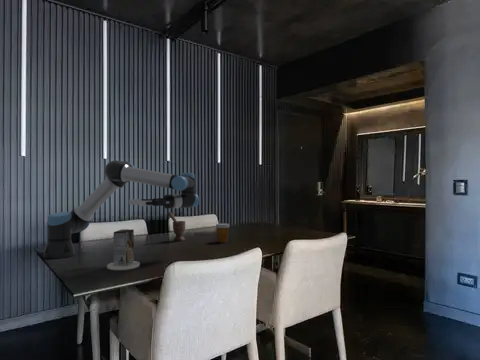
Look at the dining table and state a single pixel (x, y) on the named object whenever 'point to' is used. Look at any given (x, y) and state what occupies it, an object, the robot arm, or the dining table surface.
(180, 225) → the mortar and pestle
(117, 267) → the plate
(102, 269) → the dining table surface
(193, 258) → the dining table surface
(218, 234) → the disposable coffee cup
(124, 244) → the coffee box
